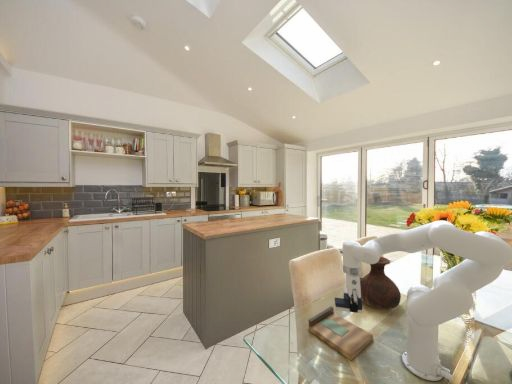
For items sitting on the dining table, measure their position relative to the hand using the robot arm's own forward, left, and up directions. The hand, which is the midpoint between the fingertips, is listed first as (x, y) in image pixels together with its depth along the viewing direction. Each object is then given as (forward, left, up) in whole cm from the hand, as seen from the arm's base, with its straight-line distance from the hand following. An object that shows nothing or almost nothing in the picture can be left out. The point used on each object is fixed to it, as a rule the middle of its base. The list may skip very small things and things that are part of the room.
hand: (352, 307), depth 97 cm
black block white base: (+2, +1, -1) cm, 2 cm away
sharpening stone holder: (+5, +2, -15) cm, 16 cm away
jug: (+6, -38, -15) cm, 41 cm away
